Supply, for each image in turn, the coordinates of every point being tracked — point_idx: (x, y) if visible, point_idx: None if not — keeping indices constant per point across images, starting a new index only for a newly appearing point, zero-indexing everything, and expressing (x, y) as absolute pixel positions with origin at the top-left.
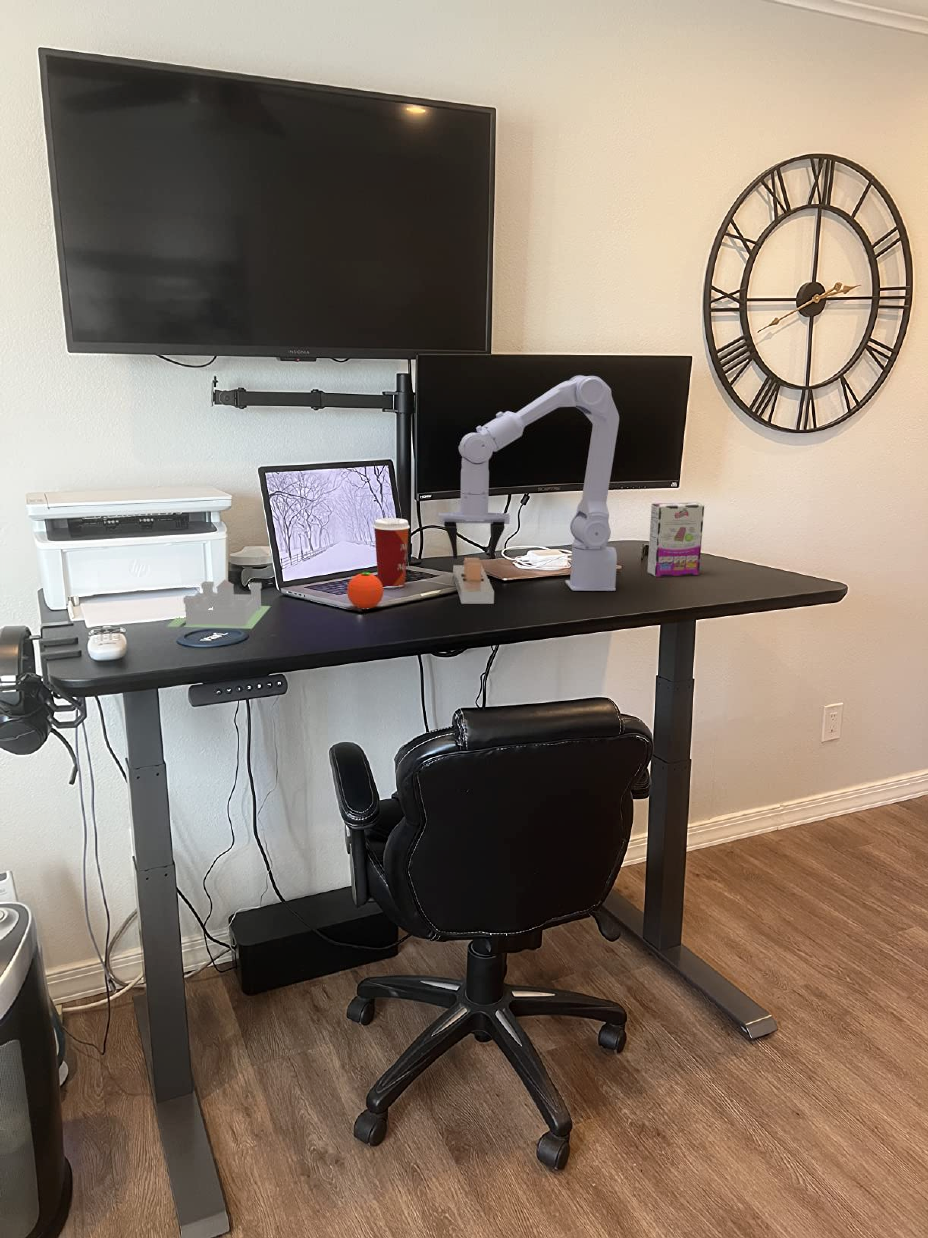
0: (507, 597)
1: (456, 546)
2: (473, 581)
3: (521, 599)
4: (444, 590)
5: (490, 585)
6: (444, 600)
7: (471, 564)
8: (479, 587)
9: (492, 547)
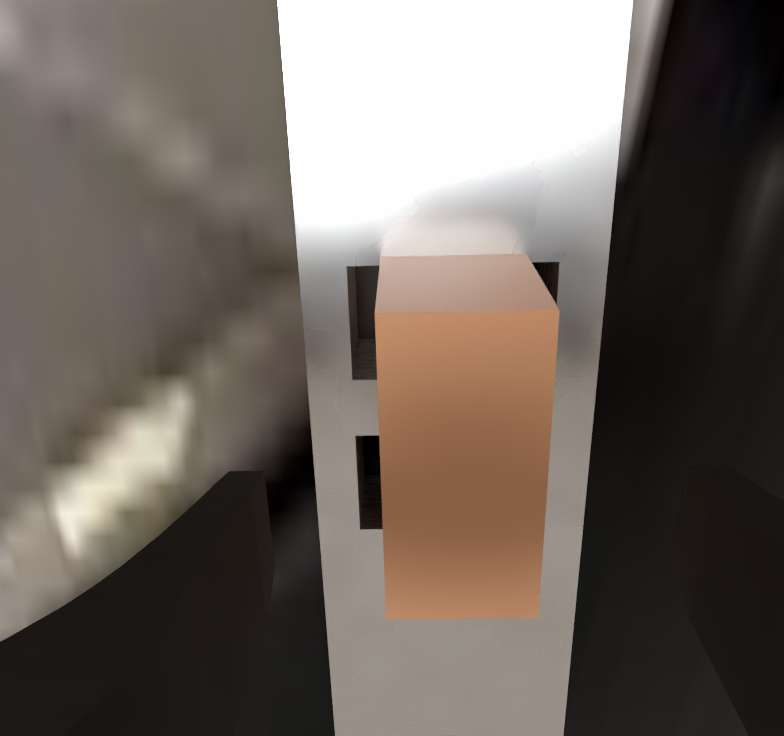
0: (672, 573)
1: (234, 715)
2: None
3: None
4: (220, 401)
5: (566, 641)
6: None
7: (433, 617)
8: (472, 692)
9: (740, 700)
